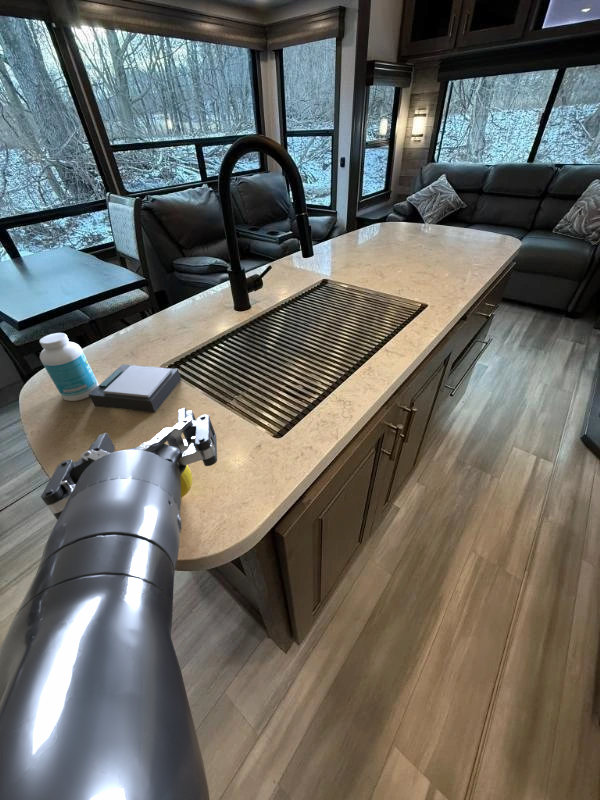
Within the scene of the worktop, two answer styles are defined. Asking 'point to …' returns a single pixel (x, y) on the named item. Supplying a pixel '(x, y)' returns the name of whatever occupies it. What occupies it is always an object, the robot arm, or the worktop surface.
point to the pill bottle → (67, 367)
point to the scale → (136, 388)
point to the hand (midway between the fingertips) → (147, 428)
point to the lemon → (186, 481)
